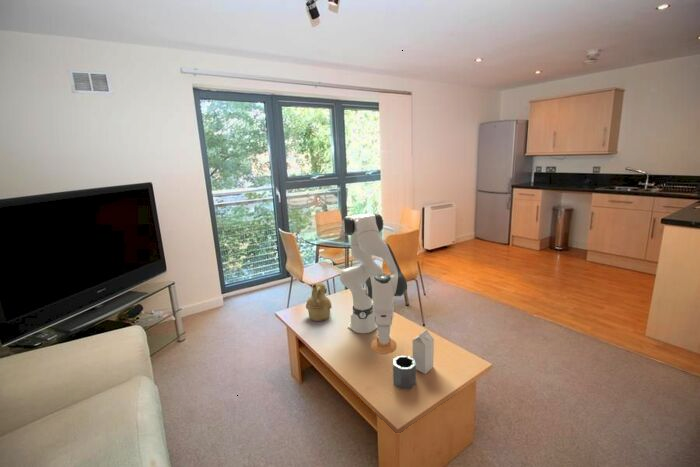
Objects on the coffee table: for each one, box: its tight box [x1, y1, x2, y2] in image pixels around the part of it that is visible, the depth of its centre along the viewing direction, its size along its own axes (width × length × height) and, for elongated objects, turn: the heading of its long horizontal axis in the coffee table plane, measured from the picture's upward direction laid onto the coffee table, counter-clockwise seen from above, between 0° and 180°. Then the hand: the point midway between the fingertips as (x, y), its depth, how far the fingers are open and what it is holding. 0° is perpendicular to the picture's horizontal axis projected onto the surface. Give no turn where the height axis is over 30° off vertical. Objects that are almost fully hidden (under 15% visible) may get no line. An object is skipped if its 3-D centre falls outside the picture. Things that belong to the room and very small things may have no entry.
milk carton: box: [412, 328, 435, 375], centre depth 149 cm, size 7×7×19 cm
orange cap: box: [370, 333, 398, 355], centre depth 137 cm, size 11×11×7 cm
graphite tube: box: [392, 355, 417, 390], centre depth 141 cm, size 10×10×10 cm
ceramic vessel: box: [305, 282, 332, 322], centre depth 203 cm, size 17×20×25 cm
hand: (383, 341), depth 137 cm, fingers closed on orange cap, 2 cm apart
